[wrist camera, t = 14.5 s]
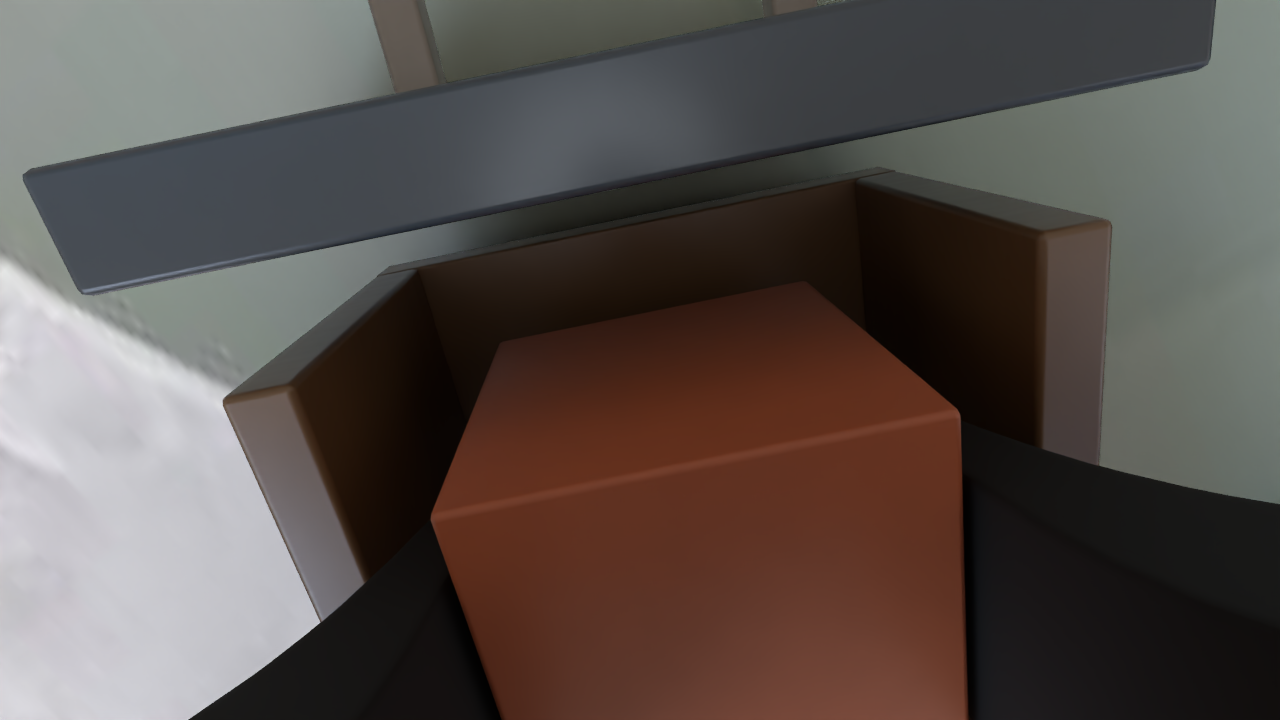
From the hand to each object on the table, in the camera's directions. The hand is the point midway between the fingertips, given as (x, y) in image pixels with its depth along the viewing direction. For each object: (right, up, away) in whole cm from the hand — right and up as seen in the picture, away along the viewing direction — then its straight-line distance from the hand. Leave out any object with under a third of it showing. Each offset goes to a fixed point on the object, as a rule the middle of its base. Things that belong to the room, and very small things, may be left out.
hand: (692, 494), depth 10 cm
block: (0, +1, +1) cm, 1 cm away
